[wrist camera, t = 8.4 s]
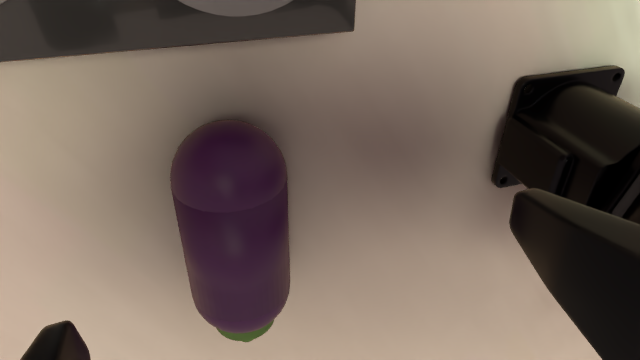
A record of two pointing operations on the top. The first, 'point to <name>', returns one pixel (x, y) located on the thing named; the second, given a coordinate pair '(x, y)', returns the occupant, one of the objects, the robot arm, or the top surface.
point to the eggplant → (233, 225)
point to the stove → (151, 25)
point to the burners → (232, 6)
